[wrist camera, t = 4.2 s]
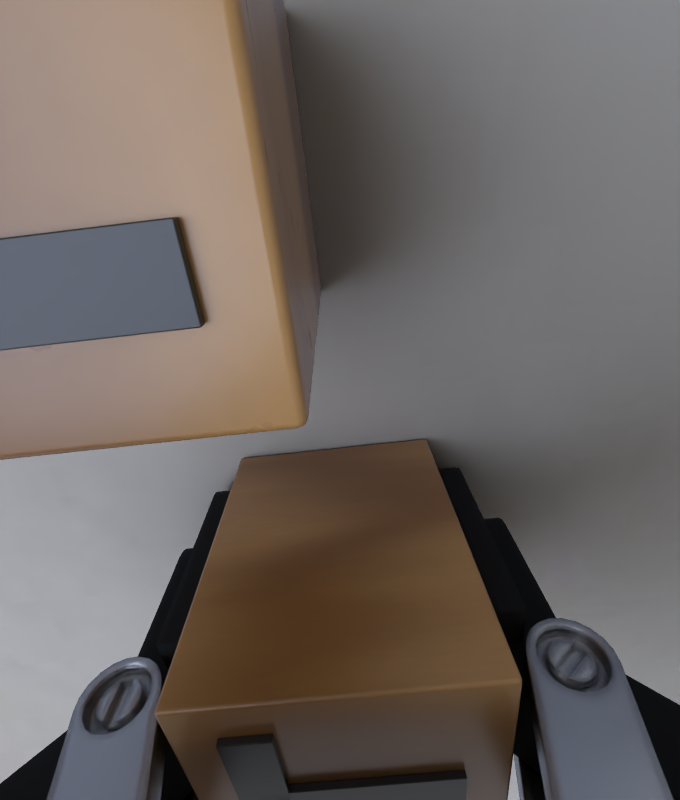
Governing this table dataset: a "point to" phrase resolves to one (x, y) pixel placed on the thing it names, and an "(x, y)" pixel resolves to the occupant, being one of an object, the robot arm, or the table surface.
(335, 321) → the table surface
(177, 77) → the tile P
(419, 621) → the tile
